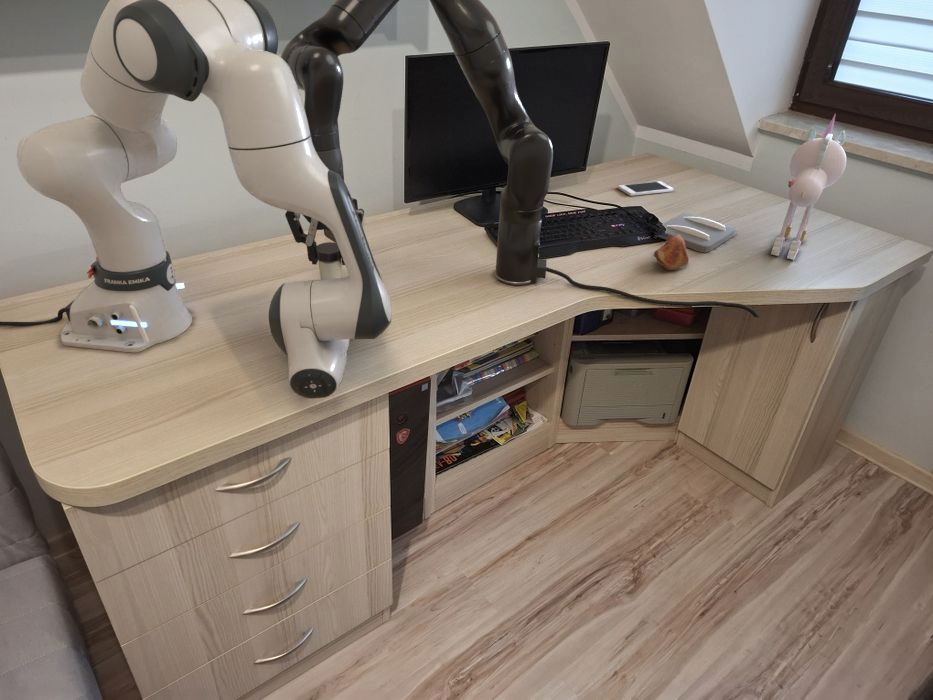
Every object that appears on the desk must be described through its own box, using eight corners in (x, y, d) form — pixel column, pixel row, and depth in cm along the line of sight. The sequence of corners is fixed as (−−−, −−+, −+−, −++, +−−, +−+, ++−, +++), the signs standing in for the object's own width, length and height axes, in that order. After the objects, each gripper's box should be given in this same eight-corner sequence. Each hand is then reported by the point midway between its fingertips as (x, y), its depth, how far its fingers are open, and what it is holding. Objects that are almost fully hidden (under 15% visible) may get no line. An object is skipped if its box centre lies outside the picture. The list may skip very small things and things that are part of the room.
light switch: (708, 241, 156) (653, 223, 165) (705, 253, 158) (650, 234, 167) (740, 223, 167) (687, 206, 176) (737, 234, 169) (684, 217, 178)
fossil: (662, 265, 143) (667, 221, 144) (634, 267, 151) (640, 225, 151) (699, 275, 150) (704, 233, 150) (671, 277, 157) (676, 237, 157)
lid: (314, 251, 118) (313, 243, 117) (341, 249, 120) (340, 240, 119) (316, 263, 114) (315, 255, 113) (345, 260, 116) (344, 252, 115)
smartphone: (617, 188, 196) (618, 185, 196) (659, 183, 201) (660, 180, 200) (630, 196, 191) (630, 193, 190) (673, 191, 196) (674, 188, 195)
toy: (826, 222, 178) (867, 110, 161) (806, 269, 152) (852, 142, 135) (779, 212, 183) (814, 103, 167) (751, 256, 157) (789, 132, 141)
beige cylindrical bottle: (341, 316, 128) (335, 244, 119) (350, 326, 125) (343, 253, 116) (322, 322, 126) (313, 249, 117) (330, 331, 123) (322, 258, 114)
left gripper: (384, 315, 110) (387, 278, 121) (263, 316, 108) (278, 278, 120) (385, 345, 113) (388, 307, 125) (268, 347, 112) (282, 307, 123)
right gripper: (366, 166, 112) (371, 255, 121) (283, 164, 111) (295, 253, 121) (360, 180, 105) (366, 273, 115) (273, 178, 105) (286, 271, 115)
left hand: (333, 293), depth 122 cm, fingers closed on beige cylindrical bottle, 4 cm apart
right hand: (329, 262), depth 118 cm, fingers closed on lid, 5 cm apart
